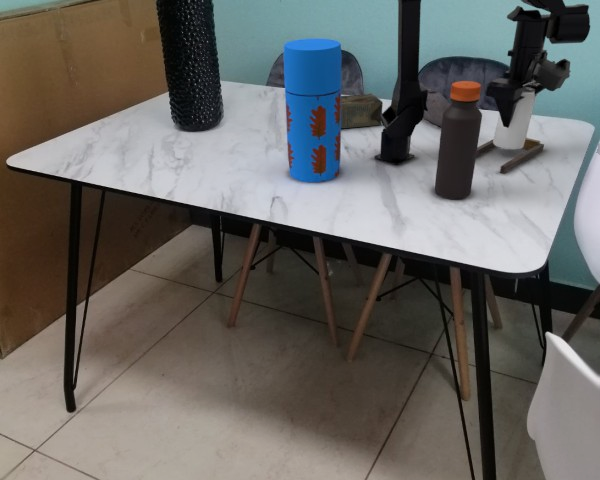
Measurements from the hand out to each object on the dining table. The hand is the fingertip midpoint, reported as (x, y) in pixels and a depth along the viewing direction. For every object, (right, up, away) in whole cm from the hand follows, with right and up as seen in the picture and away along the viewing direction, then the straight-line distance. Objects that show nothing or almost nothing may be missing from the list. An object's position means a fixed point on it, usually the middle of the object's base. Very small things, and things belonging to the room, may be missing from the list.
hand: (513, 123), depth 121 cm
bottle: (-16, -17, -12) cm, 26 cm away
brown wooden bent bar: (-2, -6, +2) cm, 7 cm away
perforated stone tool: (-12, +7, +22) cm, 26 cm away
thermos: (-43, -11, -2) cm, 44 cm away
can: (0, -4, +3) cm, 5 cm away
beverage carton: (-35, +7, +23) cm, 42 cm away
